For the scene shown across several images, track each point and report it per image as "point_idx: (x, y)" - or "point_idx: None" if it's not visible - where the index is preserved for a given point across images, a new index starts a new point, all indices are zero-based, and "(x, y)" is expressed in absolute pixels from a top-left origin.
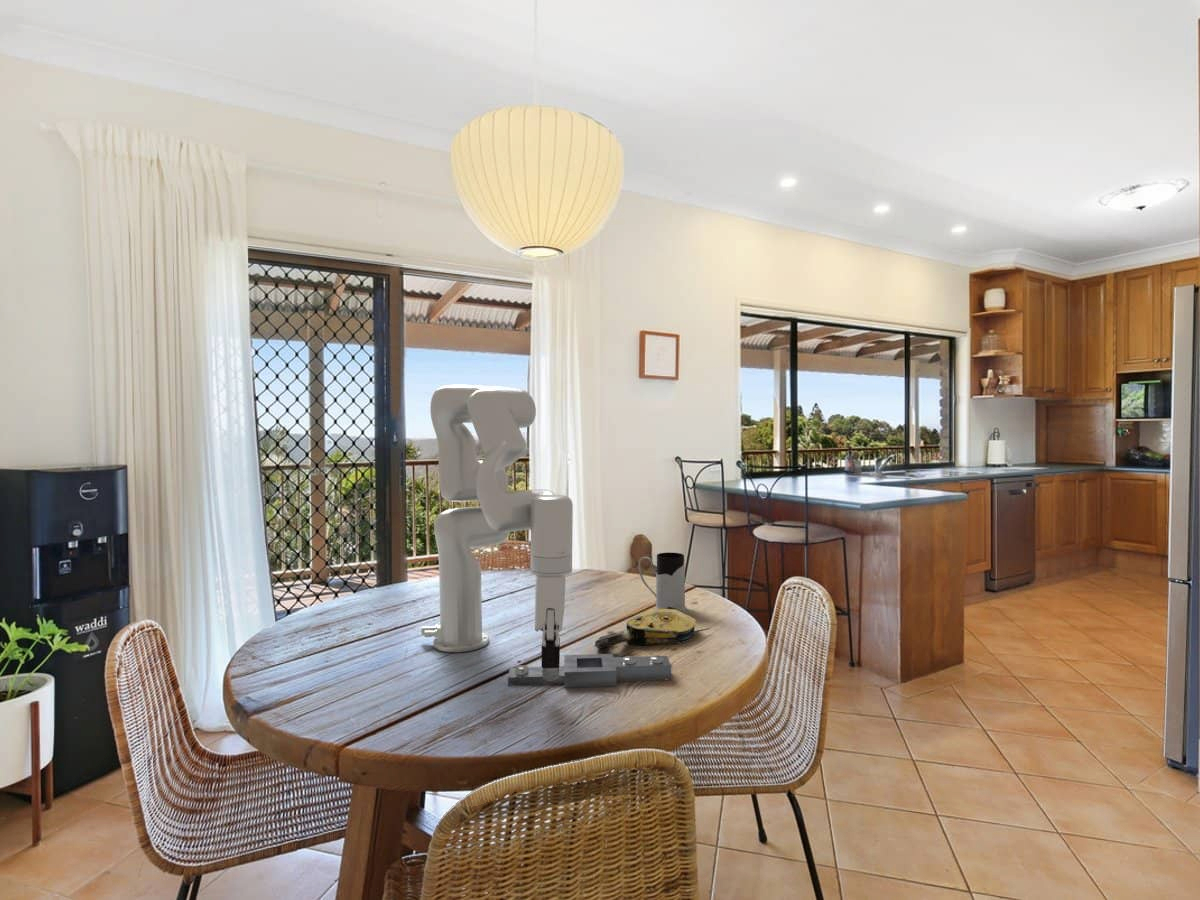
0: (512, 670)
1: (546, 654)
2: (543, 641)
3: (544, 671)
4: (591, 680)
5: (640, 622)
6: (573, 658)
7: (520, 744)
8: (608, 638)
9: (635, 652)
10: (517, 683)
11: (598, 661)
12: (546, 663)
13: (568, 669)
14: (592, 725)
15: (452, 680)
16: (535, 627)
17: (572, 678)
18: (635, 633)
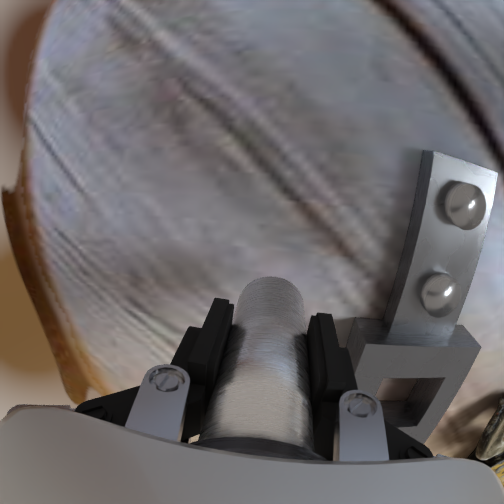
0: (479, 176)
1: (175, 354)
2: (139, 392)
3: (247, 297)
4: None
5: (501, 471)
6: (449, 369)
7: (53, 175)
8: (490, 434)
9: (455, 446)
10: (420, 181)
11: (417, 414)
12: (189, 327)
13: (382, 355)
14: (125, 340)
15: (469, 10)
16: (3, 419)
17: (353, 352)
18: (489, 459)
